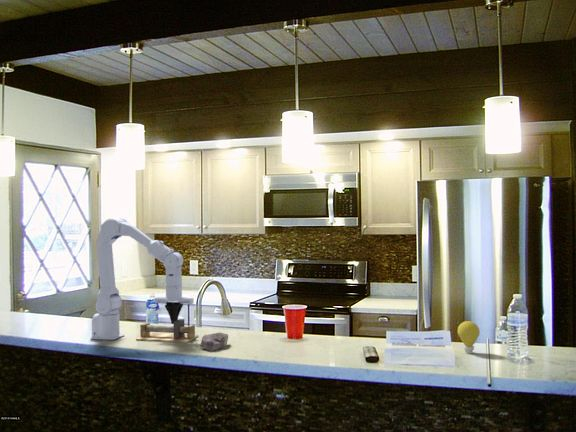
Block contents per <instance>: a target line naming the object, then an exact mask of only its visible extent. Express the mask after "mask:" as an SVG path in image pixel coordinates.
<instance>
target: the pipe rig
mask: <svg viewBox="0 0 576 432" xmlns="http://www.w3.org/2000/svg"><path fill="white" fill-rule="evenodd" d="M139 328H140V329H139V330H140V332H139V333H140V336H138V337H137V338H135V341H144V342H145V341H147V342H164V343H184V344H185V343H186V344H187V343H189V342H191V341H193V340H195V339H197V338H199V335H197V334H196V325H195V324H190V325H189V326H185V327H183V326H179V333H185V335H184V336H182V337H180V338H174V325H157V324H156V325H154V324H152V325H151V323H150V322H145V323H141V324H140V327H139Z"/></svg>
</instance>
